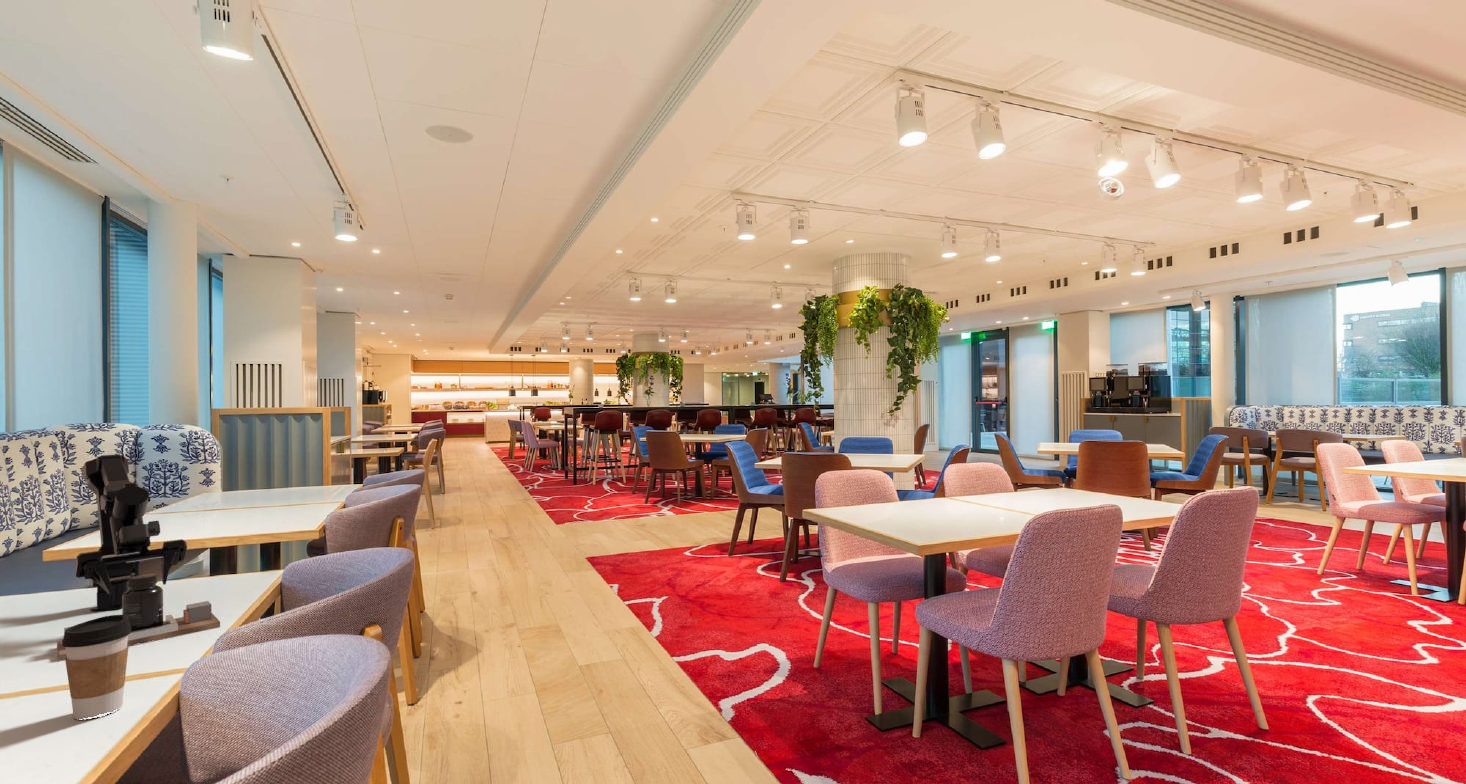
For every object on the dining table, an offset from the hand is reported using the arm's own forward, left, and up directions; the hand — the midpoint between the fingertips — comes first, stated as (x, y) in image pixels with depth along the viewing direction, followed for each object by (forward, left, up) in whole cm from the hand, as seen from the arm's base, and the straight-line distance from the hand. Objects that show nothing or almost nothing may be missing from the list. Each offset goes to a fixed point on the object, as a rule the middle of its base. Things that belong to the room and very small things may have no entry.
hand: (138, 588), depth 150 cm
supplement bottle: (+2, +2, -9) cm, 10 cm away
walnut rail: (+3, +2, -10) cm, 11 cm away
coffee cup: (+42, +21, -10) cm, 48 cm away
